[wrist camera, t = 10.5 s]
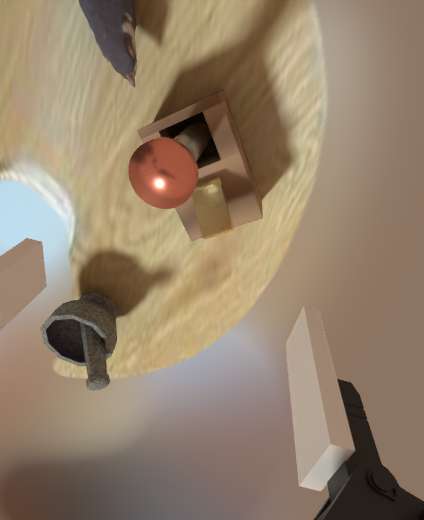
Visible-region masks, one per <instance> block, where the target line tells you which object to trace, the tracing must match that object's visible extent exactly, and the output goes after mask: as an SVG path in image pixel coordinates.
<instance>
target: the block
mask: <svg viewBox="0 0 424 520" xmlns="http://www.w3.org/2000/svg"><path fill="white" fill-rule="evenodd" d="M200 112H203V114H204V117H205V119H206V122H207V124H208V127H209V129H210V132H211V135H212V137H213V140H214V142H215V145H216V148H217V150H218V152H216V153H214V154H211V155H209V156H206V157H204V158H201V159H199V160H197V161H196V163H197V166H198V182H197V184H200V183H202V182H205V181H208V180H210V179H213V178H215V177H218V176H221V178H222V181H223V189H224V193H225V196H226V200H227V204H228V208H229V211H230V215H231V219H232V223H233V226H234V227H237V226H240V225H243V224H246V223H249V222H252V221H255V220H258V219H261V218H263V214H262V200H261V197H260V194H259V191H258V188H257V185H256V182H255V180H254V177H253V174H252V171H251V168H250V165H249V162H248V159H247V156H246V154H245V151H244V148H243V145H242V142H241V139H240V136H239V133H238V130H237V128H236V125H235V122H234V119H233V116H232V113H231V110H230V107H229V104H228V102H227V99H226V96H225V93H224V90H222V91H220V92H218V93H215V94H213V95H211V96H209V97H207V98H205V99H203V100H200V101H198V102H196V103H194V104H192V105H190V106H188V107H185V108H183V109H181V110H179V111H177V112H175V113H173V114H170V115H168V116H166V117H164V118H162V119H160V120H158V121H155V122H153V123H151V124H149V125H147V126H145V127H143V128H141V129H139V130H137V131H138V133H139V135H140V137H141V139H142V141H143V143H146V142H147V141H149V140H151V139H154V138H159V137H166V138H171V139H174V138H175V137H176V134H175V132H174V129H173V127H172V125H174V124H176V123H178V122H180V121H183V120H185V119H187V118H189V117H191V116H194V115H196V114H198V113H200ZM175 209H176V211H177V213H178V215H179V217H180V219H181V221H182V223H183V225H184V227H185V229H186V231H187V233H188V235H189V237H190V239H191V241H193V240H196V239H200V238H202V235H201V231H200V227H199V223H198V219H197V215H196V211H195V207H194V203H193V199H192V196H191V197H190V198H189V199H188V200H187V201H186V202H185V203H184V204H182V205H180V206H178V207H175Z"/></svg>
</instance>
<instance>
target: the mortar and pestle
mask: <svg viewBox="0 0 424 520" xmlns="http://www.w3.org/2000/svg"><path fill="white" fill-rule="evenodd" d="M116 318H117V307H116V305H115V304H114V303H113V302H112V301H111V300H110V298H108V297H106V296H104V295H101V294H99V293H97V292H96V293H86V294H84V295H83V296H82V297H81V298H80V299H79V300H74V301H70V302H66V303H63V304H62V305H61V306H60V307H58V309H56V310H55V311H54V313H53V314H52V315H51V316H50V317H49V318H48V319H47V321H46V322H45V323H44V324H43V325H42V327H41V333H42V337H43V341H44V344H45V345H46V346H47V347H48V348H49V349H50V350H51V351H52V352H53V353H54V354H56V355H57V356H58V357H59V358H60V359H63V360H65V361H68V362H70V363H73V364H76V365H78V366H86V367H87V373H88V379H87V381H86V383H87V388H88V389H90V390H100V389H103V388H105V387H106V386H107V385H108V384H109V383H110V379H109V375H108V374H107V367H106V359H108V358H109V357H110V356H111V355H112V353H113V351H114V349H115V345H116V342H117V330H116Z"/></svg>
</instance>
